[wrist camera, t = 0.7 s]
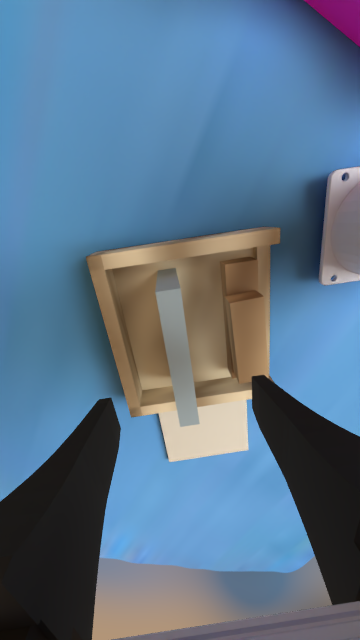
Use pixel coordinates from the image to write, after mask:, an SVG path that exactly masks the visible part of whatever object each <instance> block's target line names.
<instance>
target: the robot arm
mask: <svg viewBox="0 0 360 640" xmlns="http://www.w3.org/2000/svg"><path fill="white" fill-rule="evenodd" d="M343 174H345V180H344V181H343V180H342V178H341V177H342V175H343ZM333 275H334V278H333V279H332V280H331V277H332V276H333ZM358 280H360V166H359V167H352V168H346V169H339V170H335V171H333V172H332V173H330V175H329V176H328V181H327V192H326V203H325V214H324V226H323V237H322V248H321V259H320V271H319V282H320V283H321V284H323V285H332V284H339V283H345V282H352V281H358ZM252 409H253V411H254V414H255V417H256V420H257V422H258V425H259V427H260V430H261V432H262V434H263V436H264V438H265V440H266V441H267V443H268V445H269V447H270V449H271V451H272V453H273V455H274V457H275V459H276V461H277V463H278V465H279V467H280V469H281V471H282V473H283V475H284V477H285V479H286V482H287V484H288V487H289V489H290V492H291V494H292V496H293V499H294V501H295V504H296V506H297V509H298V512H299V514H300V517H301V519H302V522H303V525H304V527H305V530H306V532H307V535H308V538H309V540H310V543H311V546H312V549H313V551H314V554H315V557H316V559H317V562H318V565H319V567H320V571H321V573H322V576H323V579H324V582H325V585H326V588H327V591H328V593H329V596H330V599H331V602H332V605H331V606H325V607H318V608H312V609H306V610H299V611H292V612H286V613H280V614H273V615H267V616H260V617H254V618H248V619H242V620H235V621H228V622H222V623H216V624H209V625H203V626H196V627H190V628H183V629H177V630H171V631H164V632H158V633H151V634H145V635H138V636H133V637H126V638H120V639H113V640H360V437H359V436H357V435H355V434H353V433H351V432H349V431H347V430H345V429H343V428H341V427H339V426H338V425H336V424H334V423H332V422H331V421H329V420H327V419H325V418H324V417H322V416H320V415H319V414H317V413H315V412H314V411H312V410H311V409H309V408H308V407H306V406H305V405H303V404H302V403H300V402H299V401H298V400H296V399H295V398H293V397H292V396H291V395H289V394H288V393H287V392H285V391H284V390H283V389H281V388H280V387H279V386H278V385H276V384H275V383H274V382H272V381H271V380H270V379H269V378H267V377H266V376H265V375H258V376H252ZM120 430H121V428H120V424H119V421H118V418H117V415H116V412H115V408H114V405H113V402H112V399H111V398H106V399H99V400H98V401H97V403H96V404H95V405H94V406H93V408H92V409H91V410H90V411H89V413H88V414H87V415H86V416H85V418H84V419H83V420H82V421H81V423H80V424H79V425H78V426H77V428H76V429H75V430H74V431H73V432H72V434H71V435H70V436H69V437H68V438H67V439H66V440H65V441H64V443H63V444H62V445H61V446H60V447H59V448H58V449H57V450H56V451H55V453H54V454H53V455H52V456H51V457H50V458H49V459H48V460H47V461H46V462H45V463H44V464H43V465H42V466H41V467H40V468H39V469H37V470H36V471H35V472H34V473H33V474H32V475H31V476H30V477H29V478H28V479H26V480H25V481H24V482H23V483H22V484H21V485H20V486H18V487H17V488H16V489H15V490H14V491H13V492H12V493H10V494H9V495H8V496H7V497H6V498H4V499H3V500H2V501H1V502H0V640H92V628H93V617H94V605H95V593H96V583H97V573H98V563H99V555H100V546H101V538H102V530H103V523H104V516H105V509H106V503H107V498H108V494H109V489H110V485H111V480H112V476H113V472H114V467H115V463H116V458H117V454H118V449H119V441H120Z"/></svg>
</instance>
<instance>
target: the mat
mask: <svg viewBox="0 0 360 640" xmlns="http://www.w3.org/2000/svg"><path fill="white" fill-rule="evenodd" d="M197 409H198V416H199V423H200V424H197V425H190V426H184V427H180V424H179V418H178V413H177V410H176V411H169V412H163V413H159V418H160V422H161V427H162V431H163V435H164V440H165V444H166V449H167V453H168V458H169V462H173V461H180V460H186V459H193V458H199V457H205V456H212V455H218V454H225V453H231V452H238V451H244V450H248V431H247V404H246V400H241V401H234V402H228V403H221V404H215V405H208V406H202V407H197Z"/></svg>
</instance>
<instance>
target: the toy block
mask: <svg viewBox="0 0 360 640" xmlns="http://www.w3.org/2000/svg"><path fill="white" fill-rule="evenodd" d="M304 1H305V2H306V3H308V4H309V5H310V6H311V7H312V8H314V9H315V10H316V11H317V12H318V13H320V14H321V15H322V16H323V17H324V18H326V19H327V20H328V21H329V22H330V23H332V24H333V25H334V26H335V27H336V28H338V29H339V30H340V31H341V32H342V33H344V34H345V35H346V36H347V37H348V38H349V39H351V40H352V41H353V42H354V43H355V44H357V45H358V46H359V47H360V0H304Z"/></svg>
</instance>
